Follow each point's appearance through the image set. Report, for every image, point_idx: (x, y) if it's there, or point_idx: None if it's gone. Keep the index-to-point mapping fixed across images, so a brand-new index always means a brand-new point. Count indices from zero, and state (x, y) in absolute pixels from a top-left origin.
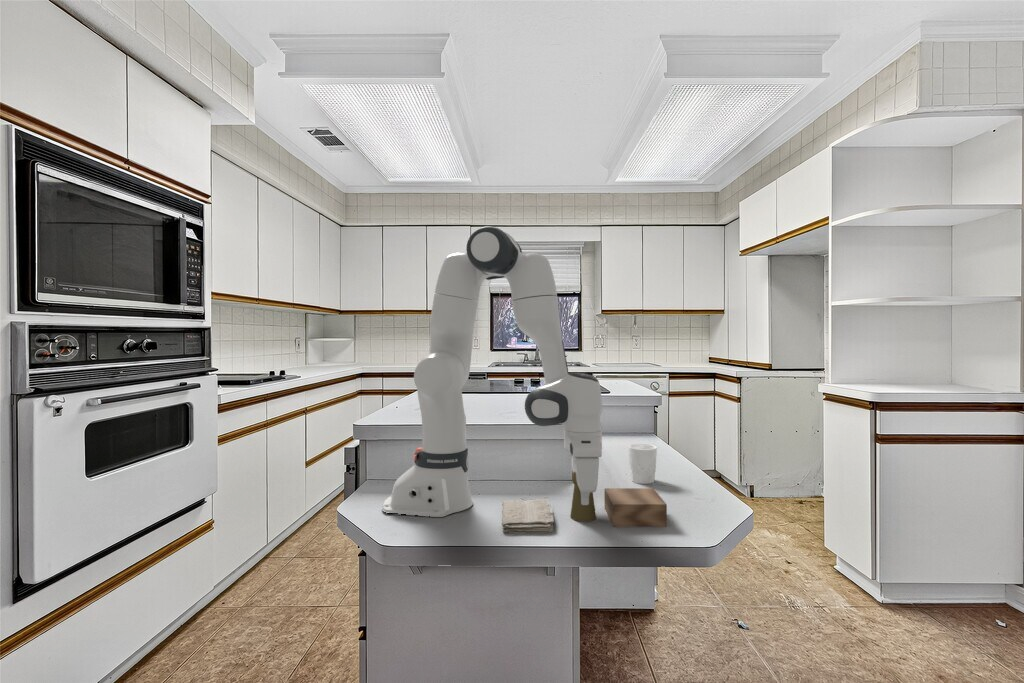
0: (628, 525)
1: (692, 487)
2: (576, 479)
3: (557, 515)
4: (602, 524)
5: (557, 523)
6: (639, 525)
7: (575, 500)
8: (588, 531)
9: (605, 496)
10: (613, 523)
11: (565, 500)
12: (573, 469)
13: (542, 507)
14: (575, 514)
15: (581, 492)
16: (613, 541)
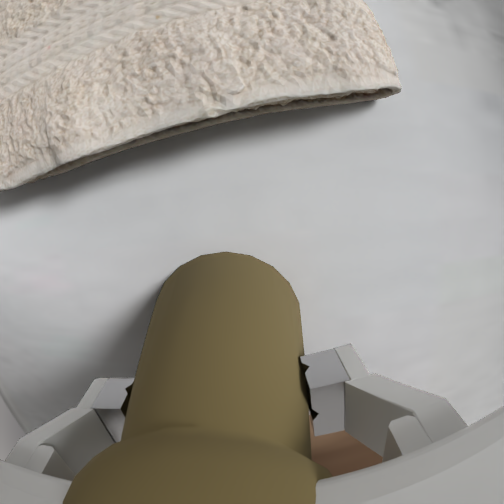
0: None
1: None
2: (22, 499)
3: (228, 168)
4: None
5: (97, 189)
6: None
7: (152, 342)
8: (57, 344)
9: (359, 456)
10: None
11: (477, 203)
12: (501, 481)
13: (165, 63)
14: (159, 299)
15: (28, 436)
16: (28, 407)
